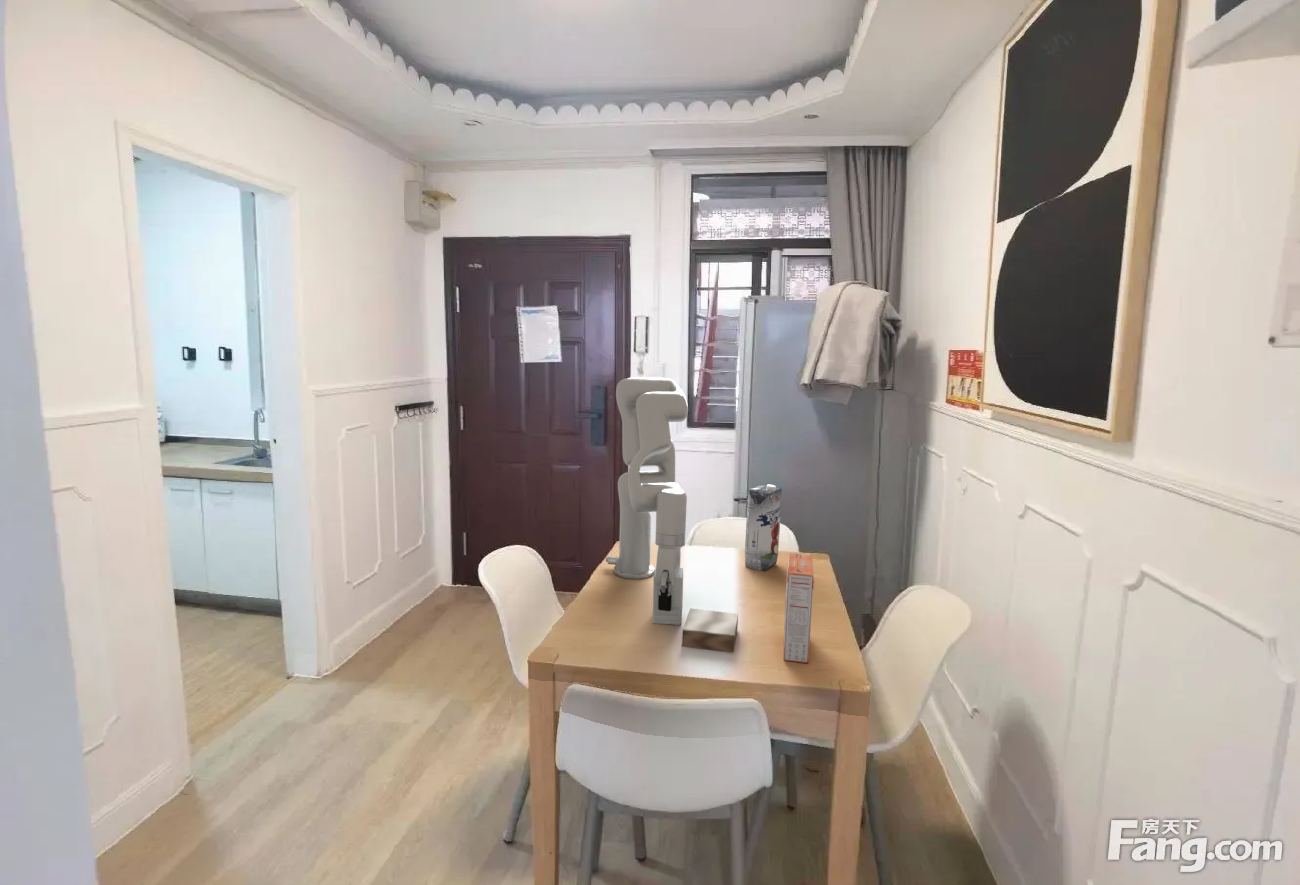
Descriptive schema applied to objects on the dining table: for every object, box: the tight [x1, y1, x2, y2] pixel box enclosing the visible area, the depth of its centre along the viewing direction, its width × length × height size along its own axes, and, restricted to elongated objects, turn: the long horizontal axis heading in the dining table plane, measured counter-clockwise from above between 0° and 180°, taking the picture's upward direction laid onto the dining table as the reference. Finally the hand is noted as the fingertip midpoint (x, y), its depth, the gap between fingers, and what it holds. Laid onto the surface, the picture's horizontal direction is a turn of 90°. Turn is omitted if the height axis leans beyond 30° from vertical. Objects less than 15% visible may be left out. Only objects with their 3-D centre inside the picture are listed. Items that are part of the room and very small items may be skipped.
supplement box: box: [652, 567, 684, 626], centre depth 160 cm, size 7×7×13 cm
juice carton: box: [744, 484, 783, 572], centre depth 200 cm, size 9×10×27 cm
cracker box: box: [783, 553, 815, 664], centre depth 145 cm, size 14×6×21 cm, turn 167°
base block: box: [681, 608, 739, 654], centre depth 150 cm, size 12×12×4 cm
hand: (668, 602), depth 160 cm, fingers open, 9 cm apart
